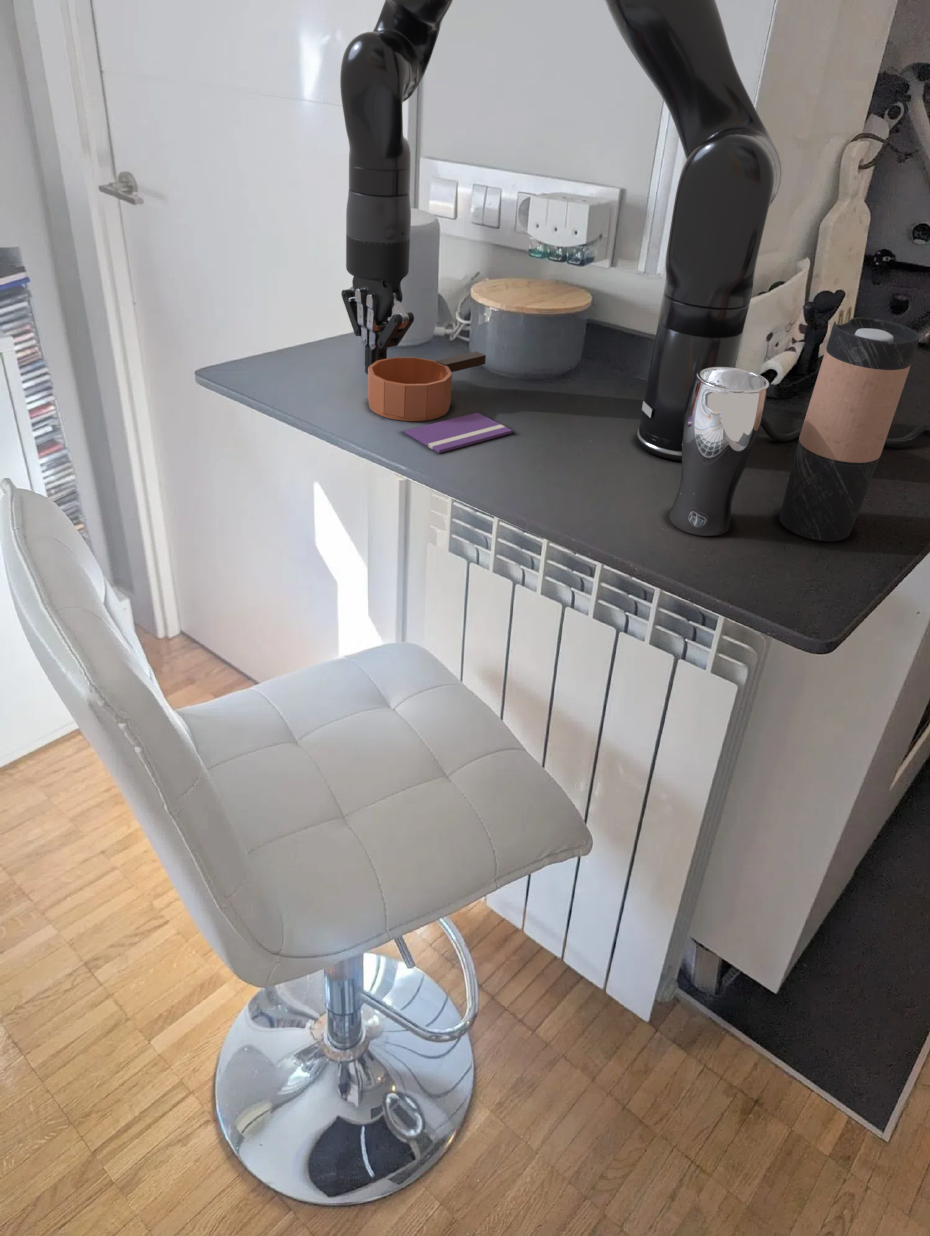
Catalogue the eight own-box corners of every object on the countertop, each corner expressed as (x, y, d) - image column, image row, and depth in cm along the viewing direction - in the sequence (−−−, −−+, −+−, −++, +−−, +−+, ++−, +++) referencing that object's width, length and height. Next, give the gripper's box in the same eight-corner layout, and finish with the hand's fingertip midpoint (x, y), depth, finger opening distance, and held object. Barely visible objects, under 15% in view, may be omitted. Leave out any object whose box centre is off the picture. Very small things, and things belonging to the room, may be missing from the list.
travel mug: (858, 548, 90) (930, 347, 78) (779, 536, 91) (838, 336, 79) (847, 513, 96) (912, 322, 84) (773, 502, 97) (827, 312, 86)
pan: (453, 376, 123) (455, 342, 120) (504, 399, 117) (508, 364, 114) (352, 401, 113) (352, 364, 111) (402, 427, 107) (403, 390, 105)
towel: (477, 415, 112) (477, 412, 112) (512, 433, 108) (512, 430, 108) (405, 433, 106) (405, 430, 106) (439, 453, 102) (439, 450, 102)
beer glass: (682, 499, 96) (712, 360, 88) (744, 521, 93) (782, 378, 84) (652, 523, 91) (682, 377, 83) (717, 546, 88) (755, 398, 80)
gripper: (437, 242, 105) (429, 387, 115) (373, 217, 113) (370, 354, 123) (384, 248, 101) (380, 397, 111) (321, 222, 109) (322, 363, 119)
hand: (375, 374), depth 117 cm, fingers closed
